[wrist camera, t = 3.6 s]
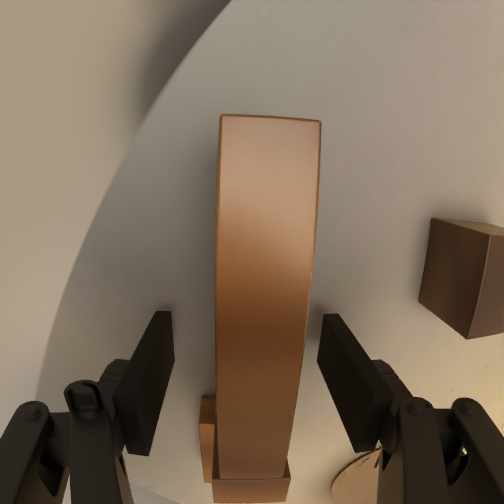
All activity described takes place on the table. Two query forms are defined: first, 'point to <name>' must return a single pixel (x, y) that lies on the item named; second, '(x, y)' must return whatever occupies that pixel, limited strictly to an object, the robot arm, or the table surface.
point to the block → (465, 276)
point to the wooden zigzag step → (259, 301)
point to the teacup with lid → (357, 482)
